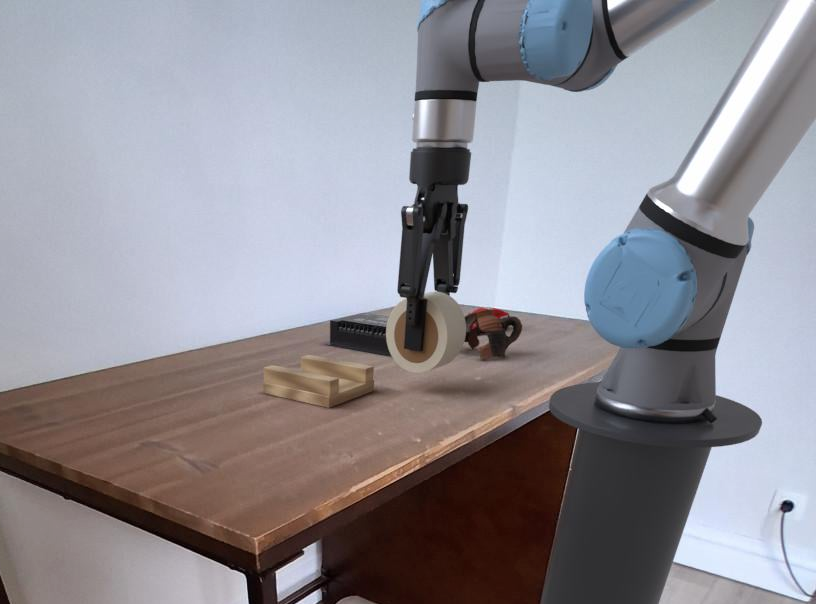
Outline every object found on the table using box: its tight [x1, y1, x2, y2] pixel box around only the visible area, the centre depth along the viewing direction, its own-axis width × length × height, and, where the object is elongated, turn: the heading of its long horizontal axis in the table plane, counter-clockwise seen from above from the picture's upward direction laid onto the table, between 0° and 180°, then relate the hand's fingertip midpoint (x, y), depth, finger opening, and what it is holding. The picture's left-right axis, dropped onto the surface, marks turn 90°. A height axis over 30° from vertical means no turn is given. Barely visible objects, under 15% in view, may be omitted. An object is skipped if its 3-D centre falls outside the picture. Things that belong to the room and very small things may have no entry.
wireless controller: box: [325, 312, 392, 357], centre depth 119 cm, size 20×14×17 cm
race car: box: [467, 307, 510, 336], centre depth 135 cm, size 13×5×4 cm, turn 129°
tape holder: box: [262, 354, 375, 409], centre depth 97 cm, size 12×11×4 cm
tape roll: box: [386, 291, 466, 375], centre depth 95 cm, size 10×6×10 cm, turn 53°
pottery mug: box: [464, 309, 523, 361], centre depth 118 cm, size 12×10×8 cm
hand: (424, 345), depth 96 cm, fingers closed on tape roll, 6 cm apart
